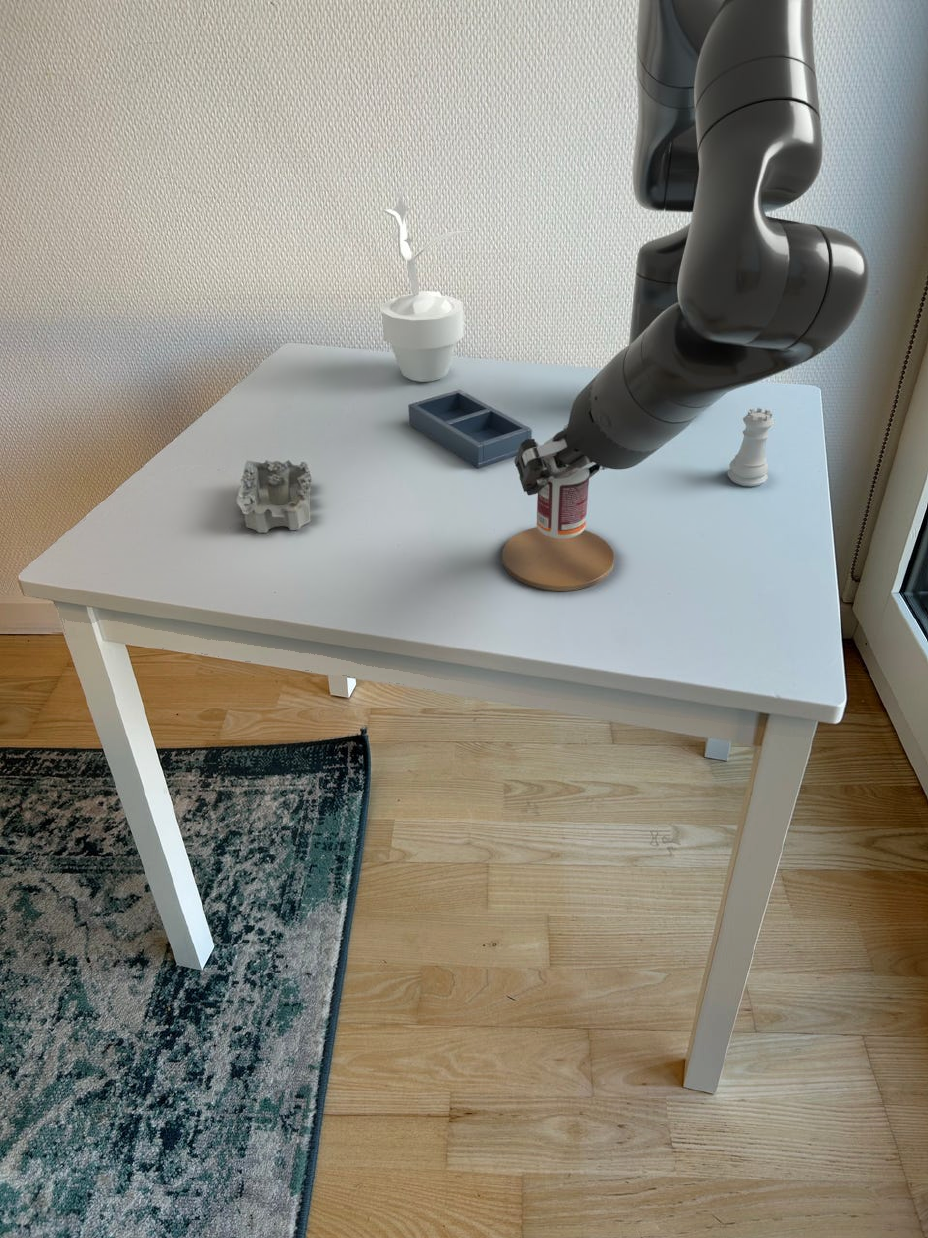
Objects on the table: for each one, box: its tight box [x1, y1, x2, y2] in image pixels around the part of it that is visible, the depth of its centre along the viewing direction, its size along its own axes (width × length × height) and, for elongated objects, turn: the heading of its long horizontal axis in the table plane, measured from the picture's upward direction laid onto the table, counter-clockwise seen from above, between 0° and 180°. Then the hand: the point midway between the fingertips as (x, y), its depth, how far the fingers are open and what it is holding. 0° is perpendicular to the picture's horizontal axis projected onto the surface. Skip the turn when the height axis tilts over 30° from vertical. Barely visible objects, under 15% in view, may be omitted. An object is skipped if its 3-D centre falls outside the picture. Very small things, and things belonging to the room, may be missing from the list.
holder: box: [407, 389, 533, 469], centre depth 107 cm, size 8×15×3 cm, turn 35°
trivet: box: [501, 526, 615, 592], centre depth 85 cm, size 11×11×1 cm
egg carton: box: [236, 459, 312, 534], centre depth 93 cm, size 11×8×4 cm
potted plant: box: [380, 193, 472, 383], centre depth 117 cm, size 13×12×25 cm
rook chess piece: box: [727, 407, 775, 488], centre depth 96 cm, size 4×4×8 cm
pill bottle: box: [536, 460, 590, 539], centre depth 81 cm, size 5×5×8 cm
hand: (552, 478), depth 82 cm, fingers closed on pill bottle, 4 cm apart
